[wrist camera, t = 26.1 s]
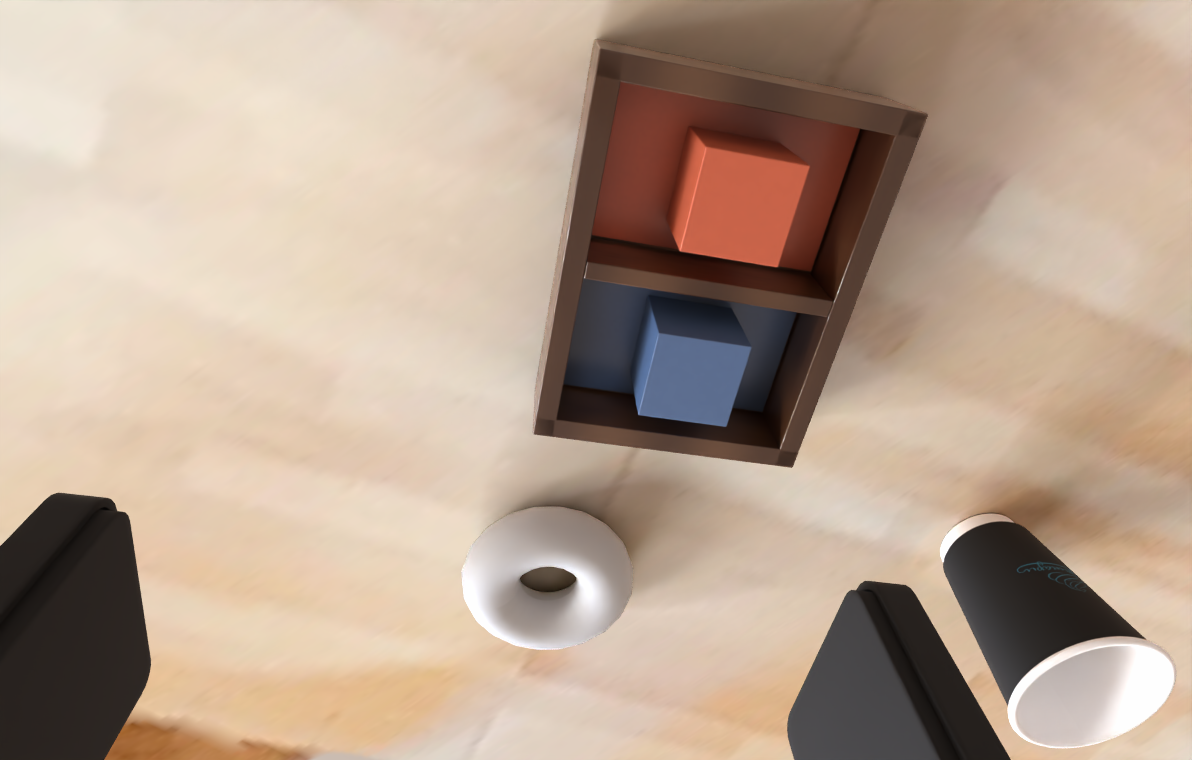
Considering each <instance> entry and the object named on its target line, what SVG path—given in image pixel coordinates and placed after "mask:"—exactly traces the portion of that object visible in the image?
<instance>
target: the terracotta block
mask: <svg viewBox="0 0 1192 760" xmlns="http://www.w3.org/2000/svg"><path fill="white" fill-rule="evenodd" d="M809 169H810V165H809V164H807V163H806V162H805V161H803V160H802V159H801V158H799V157H798V156H797V155H795V154H794V153H793V152H792V151H790V150H789V149H788V148H786V147H785V146H784V145H782V144H781V143H777V142H771V141H766V140H761V139H756V138H750V137H745V136H740V135H735V134H729V133H724V132H719V131H713V130H708V129H703V128H698V127H692V126H689V127H688V130H687V134H686V139H685V143H684V147H683V151H682V156H681V160H680V164H679V168H678V172H677V177H676V181H675V185H674V189H673V193H672V198H671V202H670V206H669V210H668V215H667V219H666V221H667V223H668V225H669V227H670V230H671V232H672V234H673V236H674V239H675V241H676V243H677V245H678V248H679V250H680V251H682V252H688V253H694V254H700V255H706V256H712V257H718V258H724V259H730V260H736V261H742V262H748V263H754V264H760V265H766V266H772V267H778V265H779V262H780V259H781V256H782V253H783V250H784V247H785V244H786V241H787V238H788V234H789V231H790V228H791V225H792V222H793V219H794V216H795V213H796V210H797V206H798V203H799V200H800V197H801V194H802V191H803V188H804V185H805V182H806V179H807V175H808V172H809Z"/></svg>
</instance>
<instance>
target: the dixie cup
mask: <svg viewBox="0 0 1192 760" xmlns="http://www.w3.org/2000/svg"><path fill="white" fill-rule="evenodd" d="M940 554H941V558H942V561H943V568H944V573H945V575H946V577H947V579H948V581H949V584H950V586H951V588H952V590H953V592H954V594H955V596H956V598H957V600H958V602H959V605H960V607H961V609H962V611H963V613H964V615H965V617H966V619H967V621H968V623H969V626H970V628H971V630H972V632H973V634H974V636H975V638H976V640H977V642H978V644H979V647H980V649H981V651H982V653H983V655H984V657H985V659H986V661H987V663H988V665H989V668H990V670H991V672H992V674H993V676H994V678H995V680H996V682H997V684H998V686H999V689H1000V691H1001V693H1002V695H1003V697H1004V699H1005V701H1006V703H1007V705H1008V717H1009V721H1010V723H1011V726H1012V727H1013V729H1014V730H1015V731H1016V732H1017V733H1018V734H1019V735H1020V736H1021V737H1022V738H1024V739H1025V740H1027V741H1029V742H1031V743H1034V744H1037V745H1041V746H1045V747H1051V748H1075V747H1083V746H1088V745H1093V744H1097V743H1100V742H1104V741H1106V740H1109V739H1112V738H1115V737H1117V736H1119V735H1122V734H1124V733H1126V732H1128V731H1130V730H1132V729H1133V728H1135V727H1137V726H1138V725H1140V724H1141V723H1143V722H1144V721H1146V720H1147V719H1148V718H1150V717H1151V716H1152V715H1153V714H1154V713H1155V712H1156V711H1157V710H1158V709H1159V708H1160V707H1161V706H1162V705H1163V704H1164V703H1165V701H1166V700H1167V699H1168V697H1169V696H1170V694H1171V692H1172V690H1173V687H1174V684H1175V681H1176V667H1175V663H1174V661H1173V659H1172V657H1171V656H1170V654H1169V653H1168V652H1167V651H1166V650H1165V649H1163V648H1162V647H1161V646H1159V645H1157V644H1156V643H1153V642H1151V641H1148V640H1146V639H1145V638H1144V637H1143V636H1142V635H1141V634H1140V633H1139V632H1137V631H1136V630H1135V629H1134V628H1133V627H1132V626H1131V625H1130V624H1129V623H1128V622H1127V621H1126V620H1124V619H1123V618H1122V617H1121V616H1120V615H1119V614H1118V613H1117V612H1116V611H1115V610H1114V609H1113V608H1111V607H1110V606H1109V605H1108V604H1107V603H1106V602H1105V601H1104V600H1103V599H1102V598H1101V597H1100V596H1098V595H1097V594H1096V593H1095V592H1094V591H1093V590H1092V589H1091V588H1090V587H1089V586H1088V585H1087V584H1085V583H1084V582H1083V581H1082V580H1081V579H1080V578H1079V577H1078V576H1077V575H1076V574H1075V573H1074V572H1073V571H1071V570H1070V569H1069V568H1068V567H1067V566H1066V565H1065V564H1064V563H1063V562H1062V561H1061V560H1060V559H1058V558H1057V557H1056V556H1055V555H1054V554H1053V553H1052V552H1051V551H1050V550H1049V549H1048V548H1047V547H1045V546H1044V545H1043V544H1042V543H1041V542H1040V541H1039V540H1038V539H1037V538H1036V537H1035V536H1034V535H1032V534H1031V533H1030V532H1029V531H1028V530H1027V529H1026V528H1024V527H1023V526H1021V525H1019V524H1016V523H1014V522H1013V521H1012V520H1011V519H1009V518H1008V517H1006V516H1003V515H1000V514H981V515H977V516H973V517H971V518H968V519H966V520H964V521H962V522H960V523H959V524H957V525H956V526H955V527H954V528H953V529H951V530H950V532H949V533H948V534H947V535H946V537H945V538H944V540H943V542H942V545H941V549H940Z"/></svg>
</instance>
